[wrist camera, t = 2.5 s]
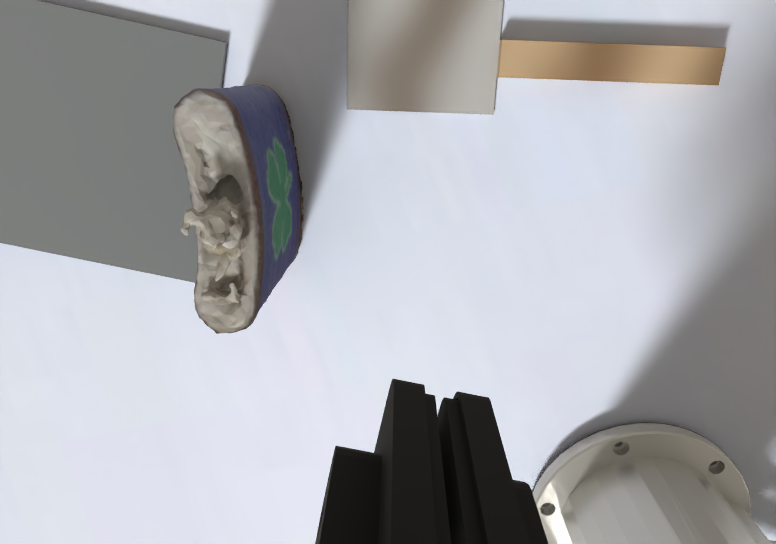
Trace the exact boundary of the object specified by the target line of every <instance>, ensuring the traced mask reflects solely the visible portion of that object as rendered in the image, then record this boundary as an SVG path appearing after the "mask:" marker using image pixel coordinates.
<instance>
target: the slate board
mask: <svg viewBox="0 0 776 544" xmlns="http://www.w3.org/2000/svg"><path fill="white" fill-rule="evenodd" d="M226 50H227V43H226V42H222V41H217V40H213V39H208V38H204V37H199V36H195V35H190V34H186V33H181V32H177V31H172V30H168V29H163V28H159V27H154V26H150V25H145V24H141V23H137V22H132V21H128V20H123V19H119V18H114V17H110V16H105V15H101V14H96V13H92V12H87V11H83V10H78V9H74V8H69V7H65V6H60V5H56V4H51V3H47V2H42V1H38V0H0V243H4V244H9V245H14V246H19V247H24V248H29V249H34V250H38V251H43V252H48V253H53V254H58V255H63V256H68V257H73V258H77V259H82V260H87V261H92V262H97V263H102V264H107V265H112V266H117V267H121V268H126V269H131V270H136V271H141V272H146V273H151V274H156V275H161V276H165V277H170V278H175V279H180V280H185V281H190V282H195V283H196V276H197V265H198V259H197V238H196V233H195V232H196V227H195V225H193V226H190V228H189V232H188V235H184V234H183V233H182V232H181V229H180V228H181V226H182V224H183V222H184V215H185V211H187V210H188V209H190V208H193V207H192V202H191V199H190V195H191V193H190V190H189V184H188V177H187V174H186V171H185V167H184V164H183V161H182V158H181V155H180V152H179V149H178V146H177V143H176V140H175V137H174V134H173V113H174V106H175V105H176V104H177V103H178V102H179V100H180V99H181V98H182V97H183V96H185V95H186V94H188V93H189V92H190V91H191V90H193V89H196V88H207V89H213V88H222V83H223V75H224V66H225V58H226Z"/></svg>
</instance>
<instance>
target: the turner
mask: <svg viewBox="0 0 776 544" xmlns="http://www.w3.org/2000/svg"><path fill="white" fill-rule="evenodd" d="M502 10H503V0H348V64H347V109H355V110H382V111H409V112H436V113H463V114H490V115H493V114H494V102H495V91H496V79H497V77H505V78H532V79H560V80H587V81H614V82H642V83H669V84H696V85H719V81H720V76H721V71H722V66H723V61H724V56H725V51H726V48H718V47H690V46H662V45H634V44H607V43H579V42H551V41H523V40H500V33H501V22H502Z"/></svg>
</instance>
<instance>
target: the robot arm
mask: <svg viewBox="0 0 776 544" xmlns="http://www.w3.org/2000/svg"><path fill="white" fill-rule="evenodd" d="M751 511H752V506H751V501H750V495H749V490H748V488H747V485H746V483H745V481H744V479H743V476H742V474H741V473H740V472H739V471H738V469H737V468H736V467H735V465H734V464H733V463H732V461H731V460H730V459H729V458H728V457H727V456H726V455H725V454H724V453H723V452H722V451H721V450H720V449H719V448H718V447H717V446H716V445H715V444H713V443H712V442H710V441H709V440H707V439H706V438H704V437H703V436H701V435H699V434H696V433H694V432H691V431H689V430H686V429H684V428H680V427H676V426H671V425H666V424H655V423H637V424H630V425H622V426H617V427H613V428H610V429H607V430H603V431H600V432H597V433H595V434H593V435H591V436H589V437H587V438H585V439H583V440H581V441H579V442H577V443H576V444H574V445H573V446H571V447H570V448H569V449H567V450H566V451H564V452H563V453H561V454H560V455H559V456H558V457H557V458H556V459H555V460H554V461H553V462H552V463H551V464H550V466H549V467H548V468H547V469H546V470H545V472H544V473H543V475H542V476H541V478H540V479H539V481H538V482H537V484H536V486H535V489H534V491H533V493H532V491H531V488H530V486H529V485H528V484H527V483H525V482H521V481H516V480H512V476H511V473H510V469H509V466H508V462H507V459H506V455H505V451H504V448H503V444H502V441H501V437H500V433H499V430H498V426H497V423H496V419H495V416H494V412H493V408H492V405H491V401H490V399H489V398H487V397H482V396H477V395H472V394H467V393H462V392H457V393H456V394H455V396H454V398H453V399H450V398H445V397H444V398H443V400H442V403H441V406H440V409H439V413H438V417H437V410H436V401H435V396H434V395H430V394H425V387H424V385H422V384H417V383H412V382H407V381H402V380H397V379H393V380H392V382H391V385H390V389H389V393H388V397H387V401H386V406H385V410H384V414H383V418H382V422H381V426H380V431H379V435H378V439H377V443H376V447H375V451H374V453H371V452H366V451H360V450H355V449H350V448H345V447H340V446H336V447H335V451H334V455H333V459H332V464H331V469H330V473H329V478H328V483H327V487H326V492H325V497H324V502H323V507H322V512H321V517H320V522H319V527H318V532H317V538H316V543H315V544H776V541H771V540H768V539H767V537H766V536H765V535H764V534H763V532H762V531H761V530H760V529H759V527H758V526H757V525H756V523H755V522H754V521H753V520H752V518H751Z"/></svg>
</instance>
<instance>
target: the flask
mask: <svg viewBox="0 0 776 544" xmlns="http://www.w3.org/2000/svg"><path fill="white" fill-rule="evenodd" d="M289 117H290V116H288V112H287V110H286V108H285V104H284V103H283V102H282V100H281V99H280V97H279V96H278V94H277V93H275V92H274V91H273V90H272V89H271V88H269V87H267V86H263V85H251V86H234V87H231V88H213V89H207V88H196V89H193V90H191V91H190V92H189V93H188V94H186V95H185V96H183V97H182V98H181V99H180V100H179V102H178V103H177V104H176V105H175V106H174V113H173V134H174V137H175V140H176V143H177V146H178V149H179V152H180V155H181V158H182V161H183V164H184V167H185V171H186V174H187V177H188V184H189V190H190V193H191V195H190V199H191V202H192V207H193V208H190V209H188V210H187V211H185V215H184V222H183V224H182V226H181V228H180V229H181V232H182V233H183V234H184V235H188V232H189V228H190V226H193V225H195V227H196V232H195V233H196V238H197V259H198V265H197V276H196V283H195V289H194V297H195V300H194V301H195V309H196V311H197V313H198V316H199V318H201V319H202V320H203V321H204V323H205V324H206V325H207V326H208V327H210V328H211V329H213V330H214V331H215V332H216V333H234V332H237V331H240V330H243V329H246V328H247V327H249V326H250V325H251V324H252V323H253V321H254V319H255V318H256V316H257V314H258V311H259V310H260V308H261V307H262V305H263V304H264V303H265V302H266V300H267V298H268V296H269V295H270V294H271V292H272V290H273V288H274V287H275V286H276V284H277V283H278V282H279V281H280V279H281V278H282V276H283V274H284V273H285V271H286V269H287V268H288V267H289V266H290V264H291V263H292V262H293V261H294V259H295V258H296V256H297V254H298V248H299V246H300V242H301V238H302V237H301V235H302V233H301V232H302V229H301V228H302V221H303V215H302V210H303V197H302V182H301V180H300V176H299V175H300V174H299V166H298V161H297V154H296V147H295V146H294V139H293V138H294V136H293V131H292V128H291V125H290V124H291V122H290V119H289Z"/></svg>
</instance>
